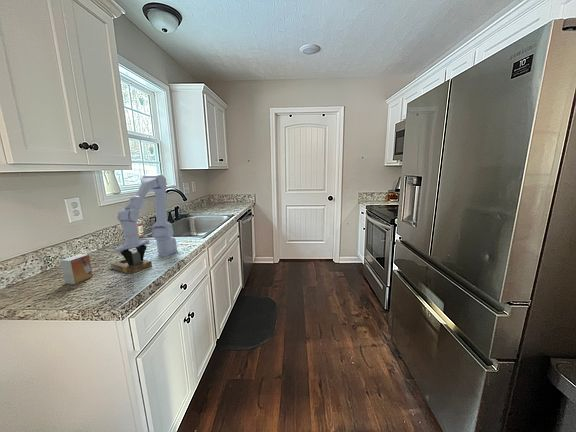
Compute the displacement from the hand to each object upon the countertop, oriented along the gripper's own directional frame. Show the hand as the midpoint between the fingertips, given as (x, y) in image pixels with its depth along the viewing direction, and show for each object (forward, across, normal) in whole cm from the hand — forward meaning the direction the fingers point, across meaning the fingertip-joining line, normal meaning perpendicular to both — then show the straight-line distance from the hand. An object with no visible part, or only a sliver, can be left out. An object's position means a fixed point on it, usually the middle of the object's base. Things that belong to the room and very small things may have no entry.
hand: (135, 262), depth 114 cm
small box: (+4, +18, -12) cm, 22 cm away
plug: (+3, 0, 0) cm, 3 cm away
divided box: (+3, 0, -4) cm, 5 cm away
